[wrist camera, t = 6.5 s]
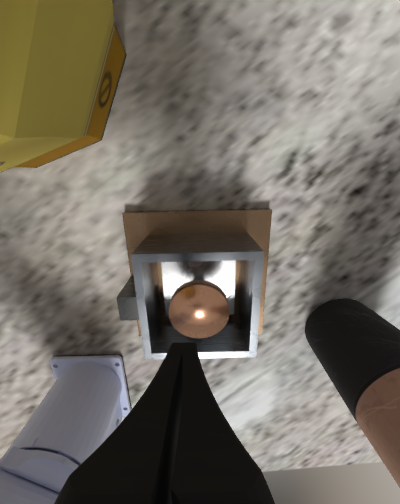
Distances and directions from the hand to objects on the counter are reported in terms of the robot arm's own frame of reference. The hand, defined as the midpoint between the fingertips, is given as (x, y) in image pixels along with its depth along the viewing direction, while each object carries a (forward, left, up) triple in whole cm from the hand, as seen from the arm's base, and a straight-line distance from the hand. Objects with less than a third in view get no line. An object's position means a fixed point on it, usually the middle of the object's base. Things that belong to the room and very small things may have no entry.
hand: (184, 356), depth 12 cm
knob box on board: (0, -1, -10) cm, 10 cm away
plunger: (0, -1, -9) cm, 9 cm away
